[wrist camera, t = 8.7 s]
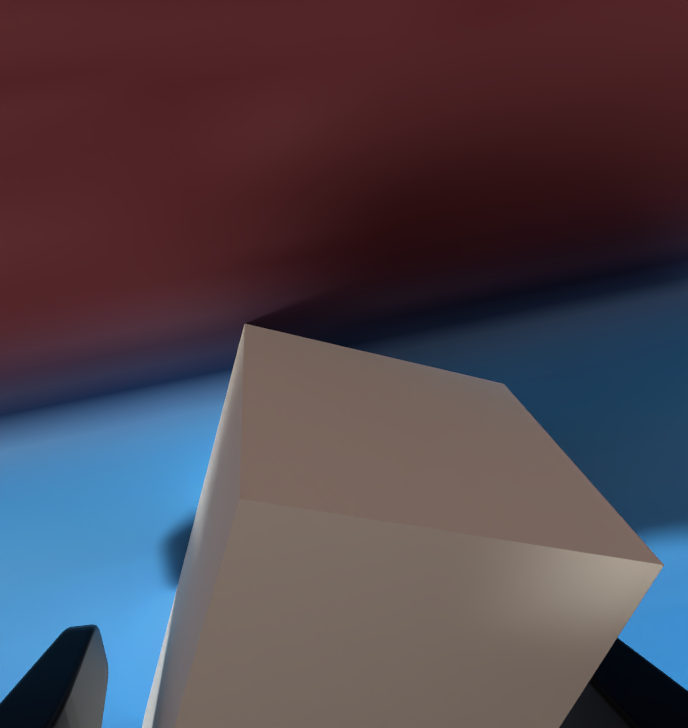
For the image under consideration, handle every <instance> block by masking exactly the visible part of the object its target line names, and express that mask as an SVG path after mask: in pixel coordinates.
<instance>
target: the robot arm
mask: <svg viewBox="0 0 688 728" xmlns="http://www.w3.org/2000/svg"><path fill="white" fill-rule="evenodd" d="M107 683H108V663H107V658H106V654H105V650H104V646H103V642H102V638H101V634H100V630H99V628H98V627H97V626H96V625H83V626H75V627H69V628H67V629H66V630H64V631H63V632H62V633H61V634H60V636H59V637H58V638H57V639H56V640H55V641H54V642H53V644H52V645H51V646H50V647H49V648H48V649H47V650H46V652H45V653H44V654H43V655H42V656H41V657H40V658H39V660H38V661H37V662H36V663H35V664H34V665H33V666H32V668H31V669H30V670H29V671H28V672H27V673H26V674H25V676H24V677H23V678H22V679H21V680H20V681H19V682H18V684H17V685H16V686H15V687H14V688H13V689H12V690H11V692H10V693H9V694H8V695H7V696H6V697H5V698H4V700H3V701H2V702H1V703H0V728H101V726H102V719H103V711H104V704H105V697H106V690H107ZM559 728H688V691H687V690H686V689H685V688H683V687H682V686H681V685H679V684H678V683H677V682H675V681H674V680H673V679H671V678H670V677H669V676H667V675H666V674H665V673H663V672H662V671H661V670H659V669H658V668H657V667H655V666H654V665H653V664H652V663H650V662H649V661H648V660H646V659H645V658H644V657H642V656H641V655H640V654H638V653H637V652H636V651H634V650H633V649H632V648H630V647H629V646H628V645H626V644H625V643H624V642H622V641H621V640H620V639H618V638H617V639H616V640H615V642H614V644H613V645H612V647H611V648H610V650H609V651H608V653H607V654H606V656H605V657H604V659H603V661H602V662H601V664H600V665H599V667H598V668H597V670H596V671H595V673H594V675H593V676H592V678H591V679H590V681H589V682H588V684H587V685H586V687H585V688H584V690H583V692H582V693H581V695H580V696H579V698H578V699H577V701H576V702H575V704H574V706H573V707H572V709H571V710H570V712H569V713H568V715H567V716H566V718H565V719H564V721H563V723H562V724H561V726H560V727H559Z"/></svg>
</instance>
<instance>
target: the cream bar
mask: <svg viewBox="0 0 688 728" xmlns="http://www.w3.org/2000/svg"><path fill="white" fill-rule="evenodd" d="M663 566H664V565H663V563H662V562H661V561H660V560H659V559H658V558H657V557H656V556H655V554H654V553H653V552H652V551H651V550H650V549H649V548H648V546H647V545H646V544H645V543H644V542H643V541H642V540H641V539H640V537H639V536H638V535H637V534H636V533H635V532H634V531H633V529H632V528H631V527H630V526H629V525H628V524H627V523H626V522H625V520H624V519H623V518H622V517H621V516H620V515H619V514H618V512H617V511H616V510H615V509H614V508H613V507H612V506H611V505H610V503H609V502H608V501H607V500H606V499H605V498H604V497H603V495H602V494H601V493H600V492H599V491H598V490H597V489H596V488H595V486H594V485H593V484H592V483H591V482H590V481H589V480H588V479H587V477H586V476H585V475H584V474H583V473H582V472H581V471H580V469H579V468H578V467H577V466H576V465H575V464H574V463H573V462H572V460H571V459H570V458H569V457H568V456H567V455H566V454H565V452H564V451H563V450H562V449H561V448H560V447H559V446H558V445H557V443H556V442H555V441H554V440H553V439H552V438H551V437H550V435H549V434H548V433H547V432H546V431H545V430H544V429H543V428H542V426H541V425H540V424H539V423H538V422H537V421H536V420H535V418H534V417H533V416H532V415H531V414H530V413H529V412H528V411H527V409H526V408H525V407H524V406H523V405H522V404H521V403H520V401H519V400H518V399H517V398H516V397H515V396H514V395H513V394H512V392H511V391H510V390H509V389H508V388H507V387H506V386H505V384H503V383H499V382H494V381H490V380H486V379H481V378H477V377H473V376H468V375H464V374H460V373H455V372H451V371H447V370H443V369H438V368H434V367H430V366H425V365H421V364H417V363H412V362H408V361H404V360H399V359H395V358H391V357H386V356H382V355H378V354H374V353H369V352H365V351H361V350H356V349H352V348H348V347H343V346H339V345H335V344H330V343H326V342H322V341H318V340H313V339H309V338H305V337H300V336H296V335H292V334H287V333H283V332H279V331H274V330H270V329H266V328H262V327H257V326H253V325H249V324H244V328H243V332H242V336H241V339H240V343H239V347H238V351H237V355H236V359H235V363H234V367H233V371H232V375H231V379H230V383H229V386H228V390H227V394H226V398H225V402H224V406H223V410H222V414H221V418H220V422H219V426H218V430H217V433H216V437H215V441H214V445H213V449H212V453H211V457H210V461H209V465H208V469H207V473H206V477H205V480H204V484H203V488H202V492H201V496H200V500H199V504H198V508H197V512H196V516H195V520H194V524H193V527H192V531H191V535H190V539H189V543H188V547H187V551H186V555H185V559H184V563H183V567H182V571H181V574H180V578H179V582H178V586H177V590H176V594H175V598H174V602H173V606H172V610H171V614H170V618H169V621H168V625H167V629H166V633H165V637H164V641H163V645H162V649H161V653H160V657H159V661H158V665H157V668H156V672H155V676H154V680H153V684H152V688H151V692H150V696H149V700H148V704H147V708H146V712H145V715H144V720H143V725H142V728H559V727H560V726H561V724H562V723H563V721H564V719H565V718H566V716H567V715H568V713H569V712H570V710H571V709H572V707H573V706H574V704H575V702H576V701H577V699H578V698H579V696H580V695H581V693H582V692H583V690H584V688H585V687H586V685H587V684H588V682H589V681H590V679H591V678H592V676H593V675H594V673H595V671H596V670H597V668H598V667H599V665H600V664H601V662H602V661H603V659H604V657H605V656H606V654H607V653H608V651H609V650H610V648H611V647H612V645H613V644H614V642H615V640H616V639H617V637H618V636H619V634H620V633H621V631H622V630H623V628H624V626H625V625H626V623H627V622H628V620H629V619H630V617H631V616H632V614H633V612H634V611H635V609H636V608H637V606H638V605H639V603H640V602H641V600H642V599H643V597H644V595H645V594H646V592H647V591H648V589H649V588H650V586H651V585H652V583H653V581H654V580H655V578H656V577H657V575H658V574H659V572H660V571H661V569H662V568H663Z"/></svg>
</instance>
